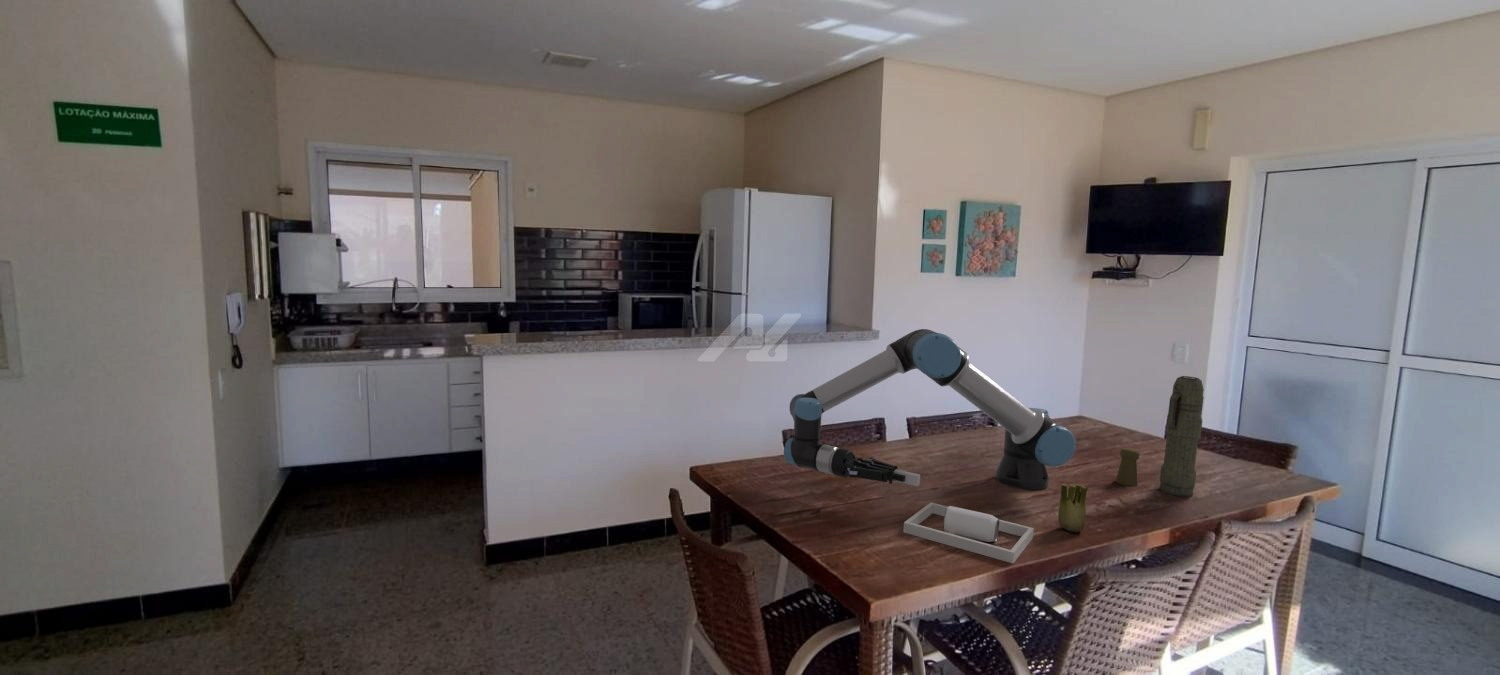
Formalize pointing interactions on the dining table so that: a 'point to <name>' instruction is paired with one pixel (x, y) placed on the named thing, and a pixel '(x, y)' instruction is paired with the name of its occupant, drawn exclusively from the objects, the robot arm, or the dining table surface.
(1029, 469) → the robot arm
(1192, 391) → the thermos
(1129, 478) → the olive tapered pillar
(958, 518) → the can
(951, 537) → the frame
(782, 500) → the dining table surface
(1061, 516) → the fennel bulb
